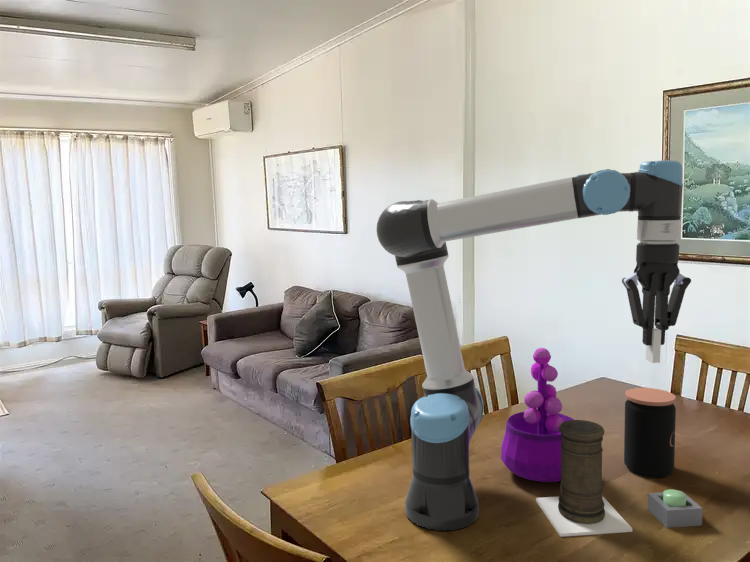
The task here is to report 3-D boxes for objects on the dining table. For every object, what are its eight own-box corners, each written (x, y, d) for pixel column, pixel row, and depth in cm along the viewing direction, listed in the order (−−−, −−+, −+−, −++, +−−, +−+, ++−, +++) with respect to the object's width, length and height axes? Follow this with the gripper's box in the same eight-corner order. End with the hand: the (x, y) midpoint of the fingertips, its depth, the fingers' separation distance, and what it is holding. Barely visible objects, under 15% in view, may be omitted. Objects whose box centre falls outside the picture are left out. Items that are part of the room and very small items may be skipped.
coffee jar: (680, 480, 133) (682, 402, 130) (629, 478, 135) (630, 401, 133) (666, 460, 143) (668, 388, 141) (619, 458, 145) (620, 386, 143)
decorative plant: (491, 459, 147) (490, 341, 143) (564, 454, 149) (564, 336, 145) (516, 496, 128) (515, 361, 125) (599, 489, 130) (600, 355, 126)
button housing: (666, 527, 114) (667, 510, 114) (647, 509, 121) (648, 493, 121) (701, 525, 114) (702, 508, 114) (681, 507, 121) (681, 490, 121)
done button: (669, 521, 116) (670, 499, 115) (658, 511, 120) (659, 490, 119) (689, 520, 116) (690, 498, 115) (678, 509, 120) (678, 488, 119)
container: (600, 528, 113) (601, 438, 111) (552, 517, 118) (552, 430, 116) (609, 507, 121) (610, 422, 119) (564, 497, 126) (564, 415, 124)
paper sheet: (560, 536, 112) (560, 533, 112) (535, 500, 126) (535, 497, 126) (632, 531, 113) (632, 528, 113) (600, 496, 127) (600, 493, 127)
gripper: (634, 244, 111) (629, 367, 114) (702, 242, 112) (695, 364, 115) (616, 241, 118) (612, 357, 122) (679, 240, 119) (674, 355, 122)
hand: (652, 360), depth 118 cm, fingers closed
